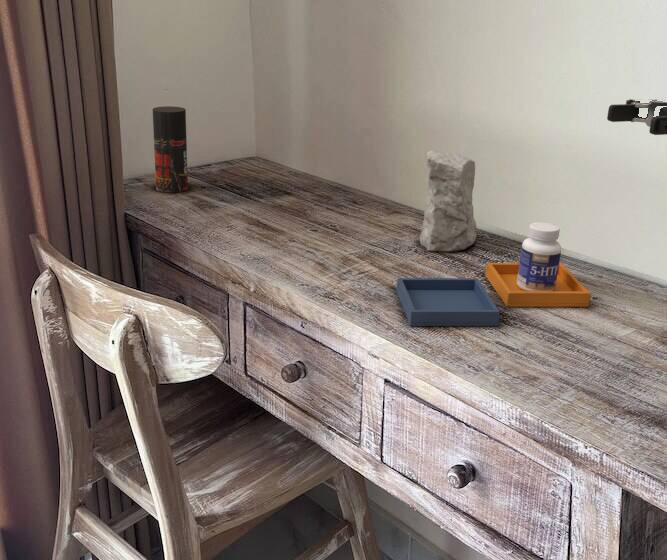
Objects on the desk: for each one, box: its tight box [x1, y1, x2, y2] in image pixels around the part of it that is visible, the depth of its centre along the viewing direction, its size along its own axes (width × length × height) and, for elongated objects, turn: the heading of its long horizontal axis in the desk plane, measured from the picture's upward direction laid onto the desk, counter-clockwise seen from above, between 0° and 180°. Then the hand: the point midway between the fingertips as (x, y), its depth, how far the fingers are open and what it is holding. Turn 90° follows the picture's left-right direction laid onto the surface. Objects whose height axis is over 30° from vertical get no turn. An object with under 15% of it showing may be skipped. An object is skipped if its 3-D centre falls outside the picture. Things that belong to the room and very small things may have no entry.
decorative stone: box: [419, 149, 477, 253], centre depth 128 cm, size 10×9×15 cm
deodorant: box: [152, 105, 189, 194], centre depth 152 cm, size 6×6×15 cm
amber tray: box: [484, 262, 591, 308], centre depth 113 cm, size 11×11×2 cm
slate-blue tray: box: [396, 277, 501, 327], centre depth 106 cm, size 11×11×2 cm
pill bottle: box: [517, 221, 562, 291], centre depth 112 cm, size 5×5×9 cm
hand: (630, 119), depth 106 cm, fingers open, 8 cm apart
